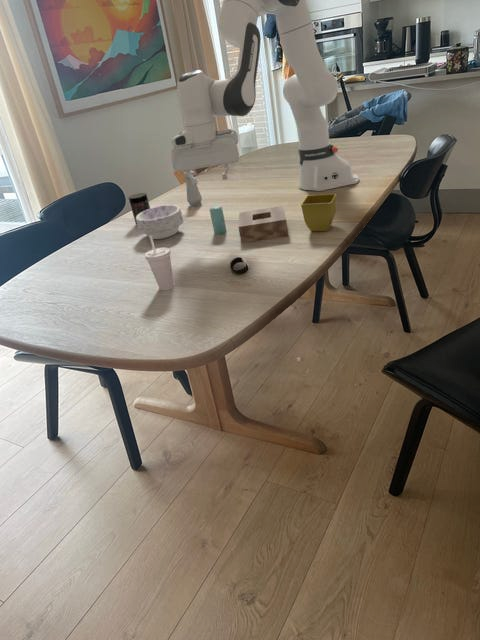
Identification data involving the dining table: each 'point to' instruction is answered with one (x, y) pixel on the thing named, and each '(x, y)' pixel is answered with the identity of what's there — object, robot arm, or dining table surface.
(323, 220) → the flower pot
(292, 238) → the dining table surface
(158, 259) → the smoothie
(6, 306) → the dining table surface
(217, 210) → the dowel
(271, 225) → the bore block
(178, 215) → the paper bowls
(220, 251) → the dining table surface
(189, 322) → the dining table surface
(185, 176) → the salt shaker
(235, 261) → the watch
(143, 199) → the supplement container
